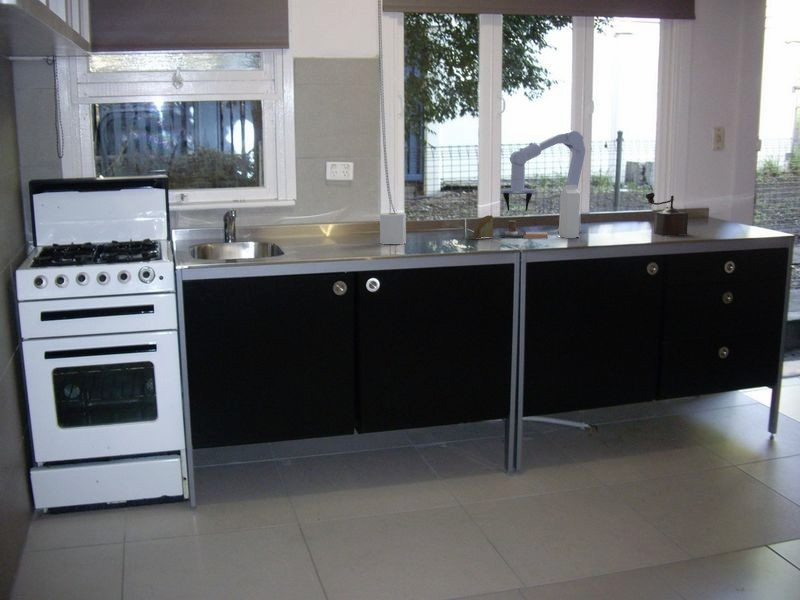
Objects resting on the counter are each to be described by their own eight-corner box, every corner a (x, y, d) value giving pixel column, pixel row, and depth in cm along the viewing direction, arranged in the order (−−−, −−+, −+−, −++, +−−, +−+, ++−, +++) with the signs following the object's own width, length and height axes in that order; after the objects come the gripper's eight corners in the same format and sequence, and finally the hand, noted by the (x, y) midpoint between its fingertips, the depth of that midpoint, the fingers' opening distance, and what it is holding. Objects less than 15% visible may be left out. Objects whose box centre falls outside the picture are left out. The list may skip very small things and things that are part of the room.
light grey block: (376, 244, 350) (375, 214, 347) (387, 241, 359) (386, 212, 357) (399, 245, 346) (398, 215, 343) (409, 242, 355) (409, 212, 353)
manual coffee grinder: (673, 232, 381) (675, 190, 378) (687, 234, 371) (690, 192, 367) (641, 233, 377) (643, 191, 374) (655, 236, 367) (657, 193, 363)
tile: (547, 232, 370) (547, 234, 362) (547, 237, 371) (547, 239, 363) (526, 231, 372) (525, 234, 364) (525, 236, 372) (525, 239, 364)
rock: (473, 235, 358) (497, 231, 359) (468, 217, 362) (492, 213, 362) (471, 247, 368) (494, 244, 369) (466, 230, 371) (489, 226, 372)
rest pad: (523, 234, 377) (523, 232, 377) (523, 238, 365) (523, 235, 365) (502, 234, 378) (502, 232, 378) (501, 237, 367) (501, 235, 366)
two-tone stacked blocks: (517, 232, 377) (518, 220, 376) (517, 235, 366) (517, 223, 365) (506, 231, 378) (506, 220, 377) (505, 235, 367) (505, 223, 366)
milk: (559, 237, 368) (560, 184, 363) (571, 236, 370) (572, 184, 365) (566, 238, 362) (567, 185, 358) (579, 237, 364) (580, 185, 360)
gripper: (500, 179, 374) (500, 211, 377) (534, 179, 372) (534, 211, 375) (501, 178, 381) (501, 209, 384) (534, 178, 379) (534, 210, 382)
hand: (517, 210), depth 380 cm, fingers open, 7 cm apart
